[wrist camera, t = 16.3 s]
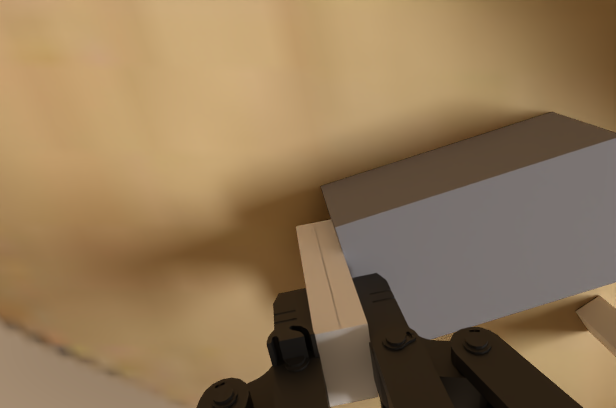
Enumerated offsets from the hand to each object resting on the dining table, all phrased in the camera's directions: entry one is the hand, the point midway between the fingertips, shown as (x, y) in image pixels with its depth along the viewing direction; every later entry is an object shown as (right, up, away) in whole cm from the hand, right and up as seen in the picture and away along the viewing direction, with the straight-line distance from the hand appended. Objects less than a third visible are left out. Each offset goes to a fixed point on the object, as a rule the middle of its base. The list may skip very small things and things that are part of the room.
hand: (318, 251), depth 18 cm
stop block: (+6, +2, +1) cm, 6 cm away
